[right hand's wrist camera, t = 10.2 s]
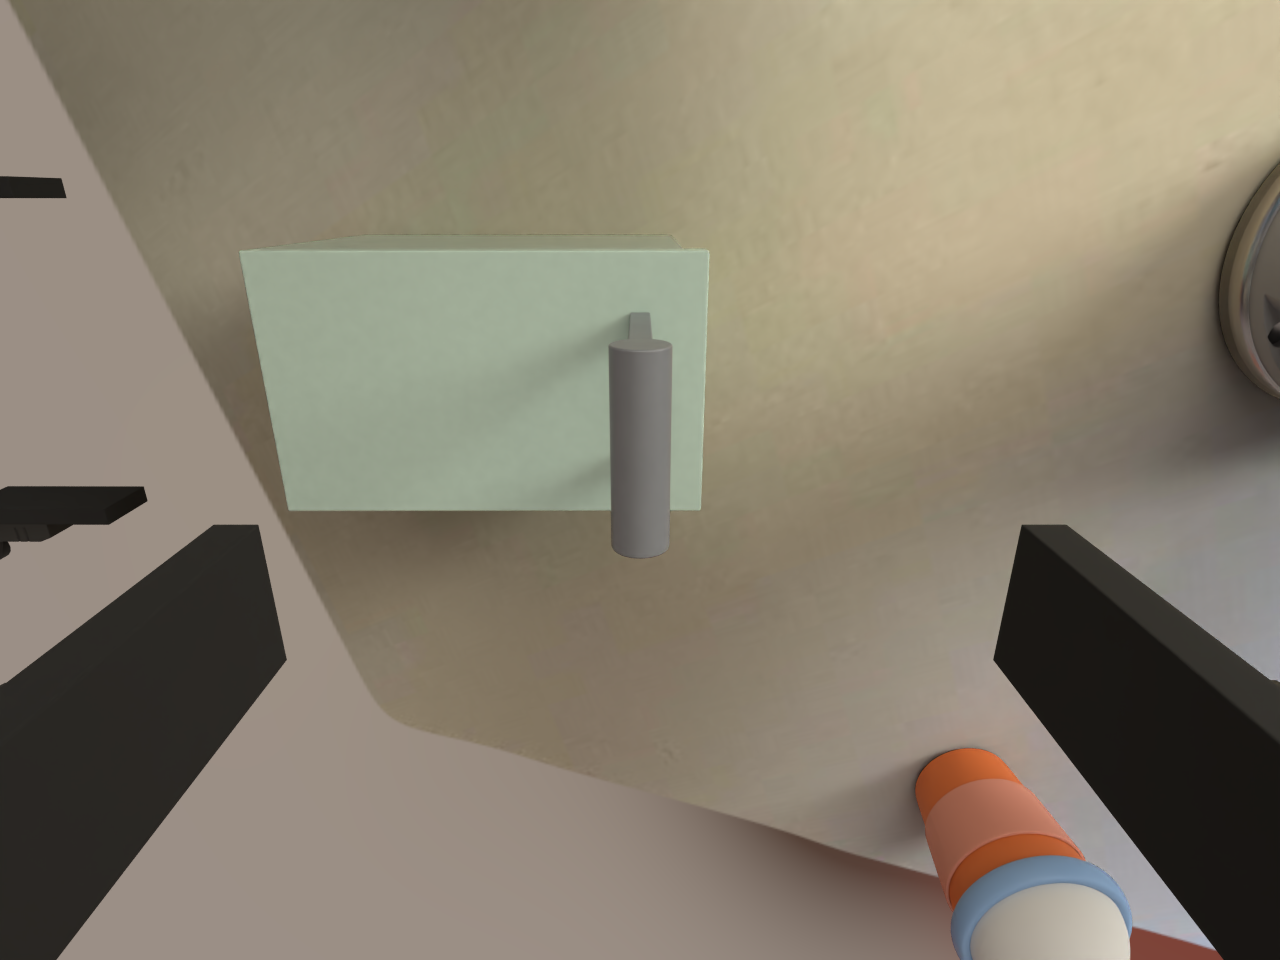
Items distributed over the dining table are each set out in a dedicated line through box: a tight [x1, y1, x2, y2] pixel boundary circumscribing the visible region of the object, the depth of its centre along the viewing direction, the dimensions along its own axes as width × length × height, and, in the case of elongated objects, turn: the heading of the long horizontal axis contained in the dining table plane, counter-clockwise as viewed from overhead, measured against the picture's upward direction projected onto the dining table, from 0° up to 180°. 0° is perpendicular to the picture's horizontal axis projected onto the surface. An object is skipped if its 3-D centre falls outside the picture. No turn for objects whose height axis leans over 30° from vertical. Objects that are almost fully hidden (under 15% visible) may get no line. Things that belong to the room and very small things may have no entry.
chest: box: [257, 235, 683, 249], centre depth 32 cm, size 15×10×11 cm, turn 90°
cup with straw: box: [915, 748, 1132, 960], centre depth 39 cm, size 9×9×18 cm
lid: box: [239, 249, 709, 558], centre depth 23 cm, size 16×10×9 cm, turn 90°
